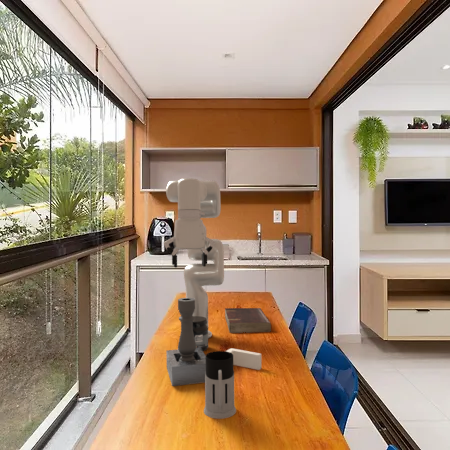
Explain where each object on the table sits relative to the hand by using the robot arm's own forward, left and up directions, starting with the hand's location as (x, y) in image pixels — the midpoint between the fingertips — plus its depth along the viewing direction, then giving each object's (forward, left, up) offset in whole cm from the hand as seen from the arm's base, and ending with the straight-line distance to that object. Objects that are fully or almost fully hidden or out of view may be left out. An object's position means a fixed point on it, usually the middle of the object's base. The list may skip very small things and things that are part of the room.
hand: (189, 266), depth 138 cm
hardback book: (-53, +36, -36) cm, 74 cm away
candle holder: (+2, -2, -36) cm, 36 cm away
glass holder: (+32, +2, -36) cm, 48 cm away
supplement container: (-23, +5, -36) cm, 43 cm away
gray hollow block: (+2, -2, -36) cm, 36 cm away
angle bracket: (0, +15, -36) cm, 39 cm away
